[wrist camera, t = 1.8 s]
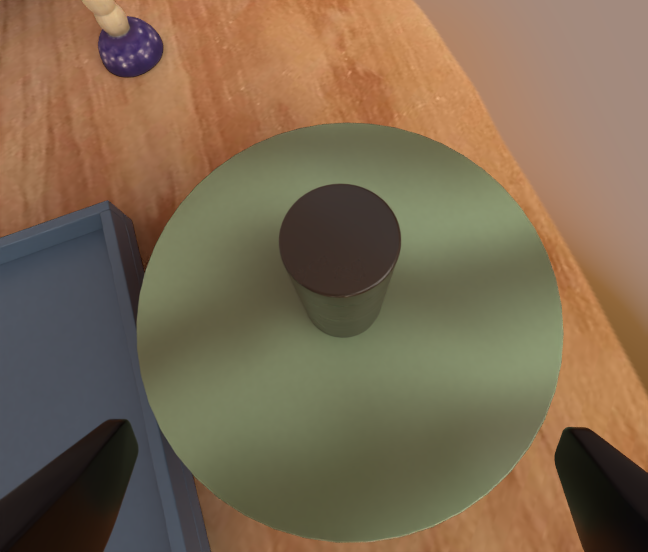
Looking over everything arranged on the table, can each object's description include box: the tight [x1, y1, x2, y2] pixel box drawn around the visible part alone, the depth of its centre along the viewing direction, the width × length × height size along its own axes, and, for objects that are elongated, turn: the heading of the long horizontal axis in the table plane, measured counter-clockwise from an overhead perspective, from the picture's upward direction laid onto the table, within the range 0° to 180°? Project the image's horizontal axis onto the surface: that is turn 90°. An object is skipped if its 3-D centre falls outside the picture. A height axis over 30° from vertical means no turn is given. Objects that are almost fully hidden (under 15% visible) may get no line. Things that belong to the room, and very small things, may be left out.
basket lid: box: [137, 123, 563, 543], centre depth 12 cm, size 16×16×7 cm
